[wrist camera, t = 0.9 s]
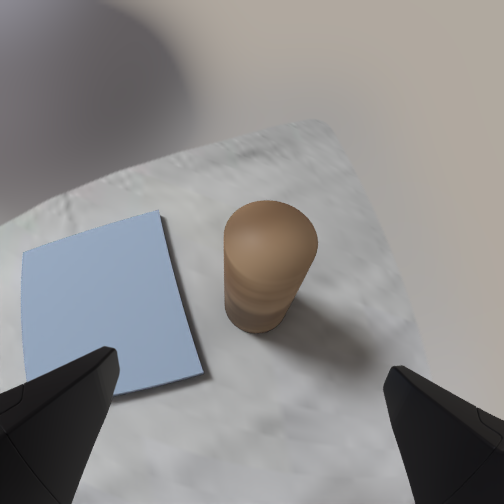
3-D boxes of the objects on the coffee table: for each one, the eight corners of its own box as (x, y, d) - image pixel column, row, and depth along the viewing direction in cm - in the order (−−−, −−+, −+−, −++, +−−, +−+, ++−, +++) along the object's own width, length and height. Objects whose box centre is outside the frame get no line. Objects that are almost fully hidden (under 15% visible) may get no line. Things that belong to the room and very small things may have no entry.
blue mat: (204, 373, 21) (203, 372, 21) (36, 408, 18) (31, 407, 17) (159, 214, 29) (158, 209, 28) (26, 256, 25) (22, 252, 24)
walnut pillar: (297, 318, 24) (335, 258, 16) (240, 343, 23) (248, 294, 14) (269, 267, 27) (289, 191, 18) (215, 288, 25) (209, 216, 17)
